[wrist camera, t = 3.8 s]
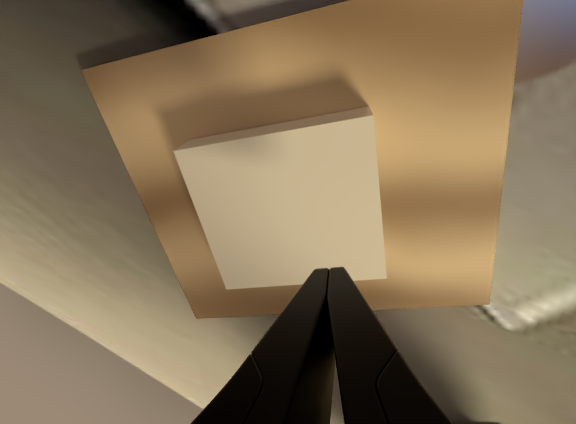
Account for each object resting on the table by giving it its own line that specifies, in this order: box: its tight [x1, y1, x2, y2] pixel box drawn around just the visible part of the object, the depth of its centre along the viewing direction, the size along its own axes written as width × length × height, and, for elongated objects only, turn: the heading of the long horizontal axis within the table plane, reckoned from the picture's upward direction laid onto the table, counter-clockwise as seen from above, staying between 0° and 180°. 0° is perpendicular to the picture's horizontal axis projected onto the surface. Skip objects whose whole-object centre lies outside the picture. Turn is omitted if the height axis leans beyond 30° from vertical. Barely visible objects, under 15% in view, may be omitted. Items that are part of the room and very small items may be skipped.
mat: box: [81, 0, 523, 319], centre depth 14 cm, size 14×16×1 cm
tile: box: [173, 107, 387, 290], centre depth 14 cm, size 7×2×8 cm
